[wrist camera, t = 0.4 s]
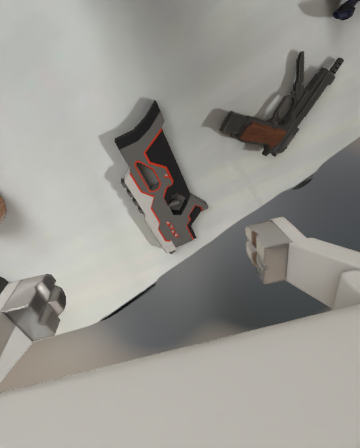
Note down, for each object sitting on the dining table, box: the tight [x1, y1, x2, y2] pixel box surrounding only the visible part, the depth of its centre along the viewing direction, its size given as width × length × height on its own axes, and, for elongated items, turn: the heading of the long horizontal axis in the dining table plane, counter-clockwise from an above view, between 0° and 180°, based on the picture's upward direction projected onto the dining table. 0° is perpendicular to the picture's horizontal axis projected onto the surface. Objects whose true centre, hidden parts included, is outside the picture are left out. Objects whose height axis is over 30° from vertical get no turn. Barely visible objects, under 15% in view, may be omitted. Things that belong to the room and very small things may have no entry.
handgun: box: [219, 51, 344, 156], centre depth 43 cm, size 4×21×15 cm
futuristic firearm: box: [115, 101, 208, 254], centre depth 51 cm, size 3×35×15 cm
